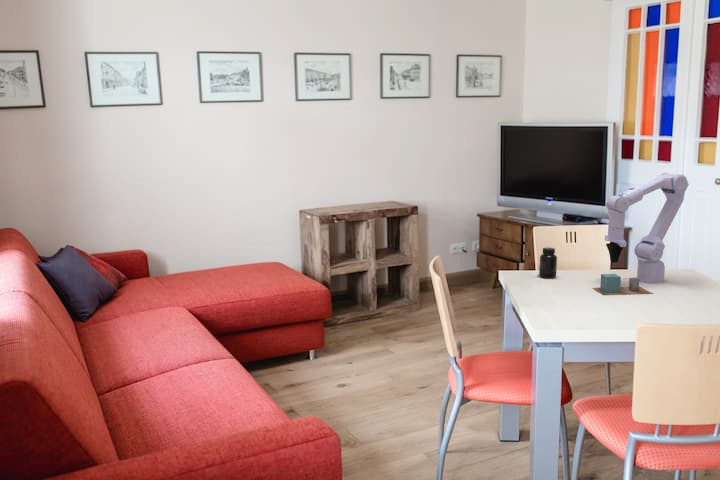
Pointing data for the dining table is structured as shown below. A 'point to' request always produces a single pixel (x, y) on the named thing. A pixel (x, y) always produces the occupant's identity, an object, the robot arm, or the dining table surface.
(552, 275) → the supplement bottle
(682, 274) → the dining table surface
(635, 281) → the steel post
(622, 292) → the base board
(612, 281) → the teal foam cube
